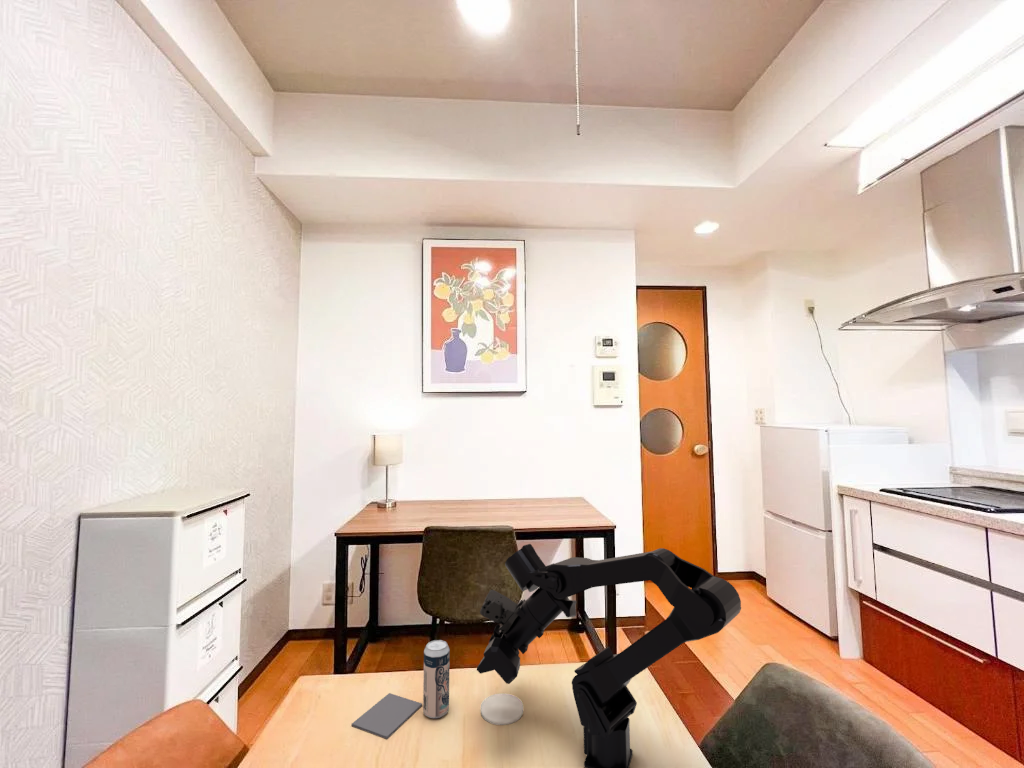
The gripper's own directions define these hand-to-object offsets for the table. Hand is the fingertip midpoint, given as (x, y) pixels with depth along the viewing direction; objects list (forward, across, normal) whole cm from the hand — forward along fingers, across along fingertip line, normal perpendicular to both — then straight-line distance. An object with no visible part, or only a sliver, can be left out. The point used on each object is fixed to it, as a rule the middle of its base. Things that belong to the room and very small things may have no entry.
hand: (478, 670), depth 83 cm
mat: (+17, +2, -6) cm, 19 cm away
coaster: (+3, -2, +8) cm, 9 cm away
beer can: (+12, 0, 0) cm, 12 cm away
